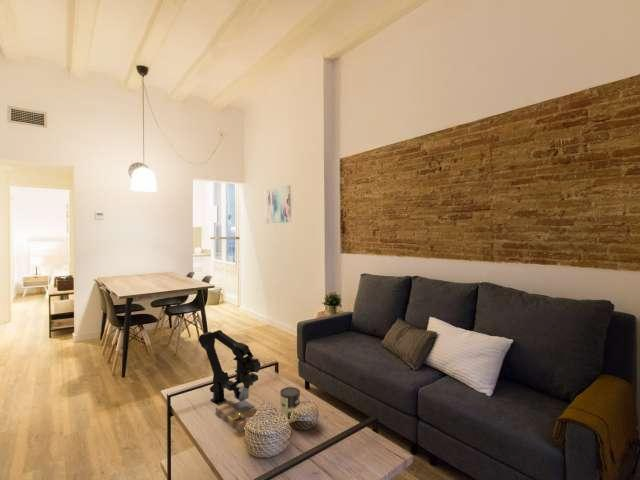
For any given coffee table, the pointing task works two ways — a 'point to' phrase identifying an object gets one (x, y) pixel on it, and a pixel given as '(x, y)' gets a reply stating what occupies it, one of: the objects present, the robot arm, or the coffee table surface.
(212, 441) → the coffee table surface
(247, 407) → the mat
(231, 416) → the lever
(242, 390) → the cap block
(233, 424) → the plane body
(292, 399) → the coffee can
